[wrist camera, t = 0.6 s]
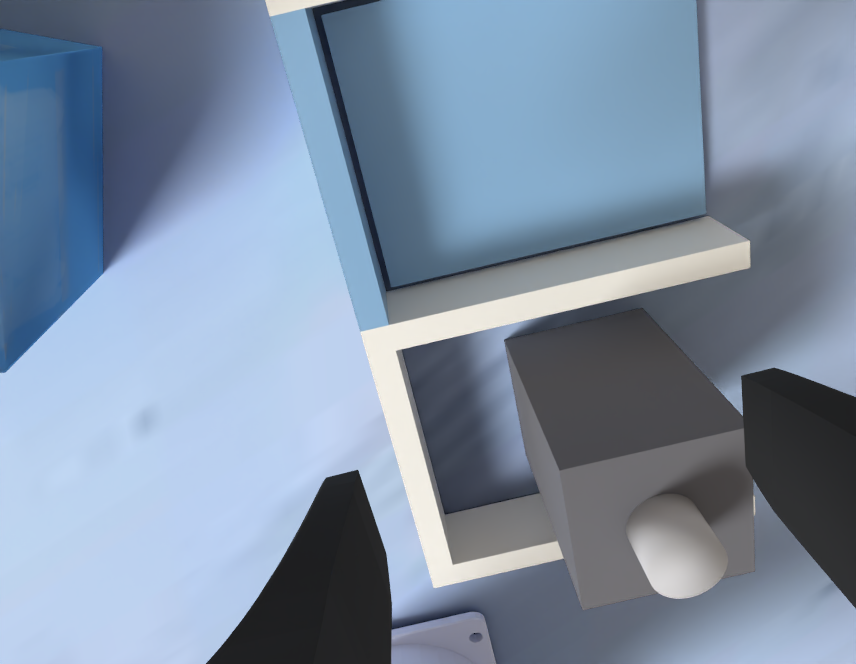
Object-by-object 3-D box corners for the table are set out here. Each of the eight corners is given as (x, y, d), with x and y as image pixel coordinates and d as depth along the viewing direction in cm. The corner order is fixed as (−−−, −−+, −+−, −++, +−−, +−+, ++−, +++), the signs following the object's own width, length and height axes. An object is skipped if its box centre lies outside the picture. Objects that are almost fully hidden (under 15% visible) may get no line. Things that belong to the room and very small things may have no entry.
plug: (652, 424, 24) (787, 617, 17) (525, 453, 24) (600, 659, 17) (641, 307, 22) (788, 465, 15) (504, 340, 22) (577, 513, 15)
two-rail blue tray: (720, 469, 25) (755, 514, 23) (427, 536, 25) (434, 588, 23) (693, -121, 17) (742, -140, 15) (271, -19, 18) (258, -23, 15)
